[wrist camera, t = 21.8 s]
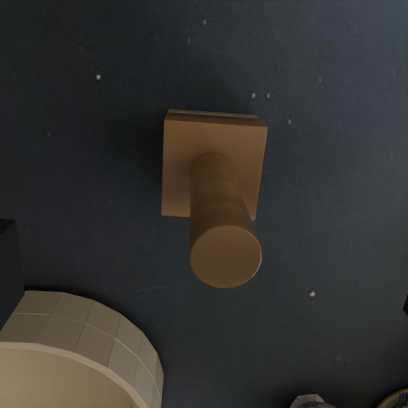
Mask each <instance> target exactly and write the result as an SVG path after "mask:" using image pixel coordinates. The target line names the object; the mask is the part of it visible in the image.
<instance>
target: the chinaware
mask: <svg viewBox="0 0 408 408" xmlns="http://www.w3.org/2000/svg"><path fill="white" fill-rule="evenodd" d="M290 408H336V407H334V406H332V405H330V404H328V403H325V402H324V400H323V399H322V398H321V397H320V396H318V394H307V395H302V396H297V398H296V399H295V400H294V401H293V403H292V404H291V407H290ZM375 408H408V387H407V388H404V389H401V390H398V391H396V392H394V393H392V394H390V395H389V396H387V397H386V398H384V399H383V400H382V401H381V402H380V403H379V404H378V405H377V406H376V407H375Z"/></svg>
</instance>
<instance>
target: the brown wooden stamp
mask: <svg viewBox="0 0 408 408" xmlns="http://www.w3.org/2000/svg"><path fill="white" fill-rule="evenodd" d="M267 129H268V128H267V126H266V125H265V124H264V123H263V122H262V121H261V120H260V119H259V118H258V117H257V116H256V115H250V114H236V113H222V112H208V111H194V110H180V109H169V110H168V112H167V115H166V117H165V120H164V138H163V168H162V198H161V215H162V216H180V217H190V264H191V267H192V269H193V271H194V273H195V274H196V276H197V277H198V278H199V279H200V280H202V281H203V282H204V283H206V284H208V285H210V286H213V287H218V288H231V287H236V286H239V285H241V284H243V283H245V282H247V281H248V280H249V279H251V278H252V277H253V276H254V275H255V273H256V272H257V270H258V269H259V267H260V264H261V260H262V250H261V246H260V243H259V240H258V237H257V234H256V232H255V229H254V226H253V223H252V220H253V221H254V220H255V216H256V209H257V202H258V194H259V187H260V180H261V173H262V165H263V158H264V151H265V144H266V136H267Z"/></svg>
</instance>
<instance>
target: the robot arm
mask: <svg viewBox="0 0 408 408" xmlns="http://www.w3.org/2000/svg"><path fill="white" fill-rule="evenodd" d="M24 295H25V291H24V283H23V275H22V268H21V260H20V252H19V245H18V237H17V229H16V221H15V220H12V219H0V331H1V330H2V328H3V327H4V325H5V323H6V322H7V320H8V319H9V317H10V316H11V314H12V313H13V311H14V310H15V308H16V307H17V305H18V304H19V302H20V301H21V299H22V298H23V296H24ZM403 311H404V312H405V313H406V314H407V316H408V295H407V298H406V301H405V304H404V307H403Z"/></svg>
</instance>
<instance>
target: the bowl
mask: <svg viewBox="0 0 408 408" xmlns="http://www.w3.org/2000/svg"><path fill="white" fill-rule="evenodd" d="M163 379H164V374H163V370H162V367H161V364H160V360H159V357H158V354H157V352H156V351H155V349H154V348H153V346H152V345H151V343H150V342H149V340H148V339H147V338H146V336H145V335H144V333H142V331H141V330H140V329H138V328H137V327H136V326H135V325H134V324H132V323H131V322H130V321H129V320H128V319H127V318H125V317H124V316H123V315H121V314H120V313H118V312H116V311H114V310H112V309H111V308H109V307H107V306H105V305H103V304H101V303H99V302H97V301H95V300H92V299H88V298H84V297H80V296H77V295H73V294H69V293H65V292H63V293H62V292H50V291H25V295H24V296H23V298H22V299H21V301H20V302H19V304H18V305H17V307H16V308H15V310H14V311H13V313H12V314H11V316H10V317H9V319H8V320H7V322H6V323H5V325H4V327H3V328H2V330H1V331H0V408H162V398H163Z"/></svg>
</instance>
